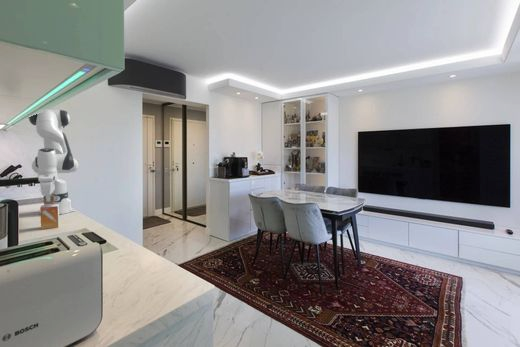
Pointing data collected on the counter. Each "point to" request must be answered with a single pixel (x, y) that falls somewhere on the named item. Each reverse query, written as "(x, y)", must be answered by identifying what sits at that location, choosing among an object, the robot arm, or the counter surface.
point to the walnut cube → (51, 199)
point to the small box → (49, 216)
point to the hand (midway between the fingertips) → (49, 200)
